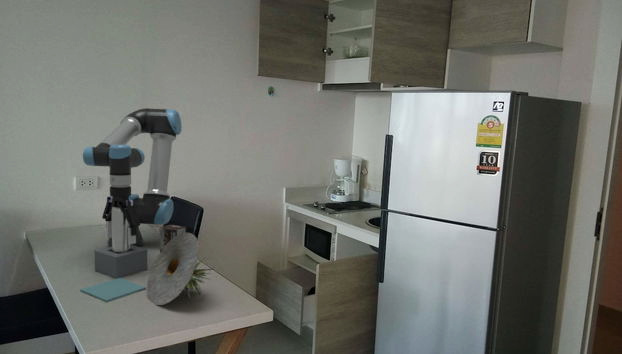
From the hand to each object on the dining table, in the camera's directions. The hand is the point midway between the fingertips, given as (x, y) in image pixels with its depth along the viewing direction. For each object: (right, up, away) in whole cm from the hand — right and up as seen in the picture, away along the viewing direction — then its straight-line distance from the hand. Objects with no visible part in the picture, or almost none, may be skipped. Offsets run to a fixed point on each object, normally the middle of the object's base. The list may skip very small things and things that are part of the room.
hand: (121, 240), depth 178 cm
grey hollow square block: (0, -12, +1) cm, 12 cm away
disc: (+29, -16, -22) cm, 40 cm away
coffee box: (+18, -12, +9) cm, 23 cm away
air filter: (0, -12, +1) cm, 12 cm away
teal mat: (+5, -14, -19) cm, 24 cm away
